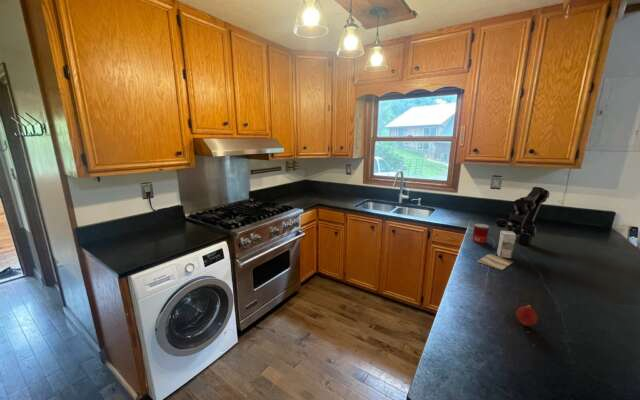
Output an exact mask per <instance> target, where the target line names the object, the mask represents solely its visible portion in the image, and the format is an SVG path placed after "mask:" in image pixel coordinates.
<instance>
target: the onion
mask: <svg viewBox="0 0 640 400" xmlns="http://www.w3.org/2000/svg"><path fill="white" fill-rule="evenodd" d="M515 312H516V318H517V320H518V321H519V322H520V323H521V324H522V325H523V326H524V327H527V326H533V325H535V324H536V323H537V321H538V315H537V312H536V310H534V309H533V308H532V307H531V305H530V304H528V305H524V306H520V307H519V308H518V309H517V310H516V311H515Z"/></svg>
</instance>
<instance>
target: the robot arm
mask: <svg viewBox="0 0 640 400" xmlns="http://www.w3.org/2000/svg"><path fill="white" fill-rule="evenodd" d="M550 195H551V193H550V192H549V190H547V189H545V188H544V187H541V186H533V187H532V189H531V191H530V192H529V193H528V194H527V195H526V196H523V197H519V198H517V199H515V200H514V201H513V205H514V210H515V213H510V214H509V218H508V220H509V221H508V222H506V219H503V218H497V219H496V220H495V223H496V226H497V227H499V228H501V229H504V228H506V229H507V230H506V231H511V232H514V233H515V235H516V240H515V242H516V243H517V244H520V245H521V246H533V244H532V243H531V242H532V239H533V238H535V237H536V233H537V227H536V225H535V224H534V221H535V219H536V217H537V215H538V212H539V210H540V207H541V205H542V204H544V203H545V202H547V200H548V199H549V198H550Z"/></svg>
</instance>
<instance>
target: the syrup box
mask: <svg viewBox="0 0 640 400" xmlns="http://www.w3.org/2000/svg"><path fill="white" fill-rule="evenodd" d="M516 239H517V235H515V233H514V232H511V231H509V230H500V234H499V239H498V242H497V243H498V244H497V249H496V254H497V257H501V258H504V259H509V260H510V259H512V256H513V251H514V248H515V247H514V246H515V242H516Z"/></svg>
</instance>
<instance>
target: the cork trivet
mask: <svg viewBox="0 0 640 400" xmlns="http://www.w3.org/2000/svg"><path fill="white" fill-rule="evenodd" d="M476 262H477V263H480V264H481V263H482V265H484V264H485V266H487V265H488V266H487V267H490V268H493V267H494V268H493V269H495V270H499V271H501V270H502V271H503V270H505V269H507V267H509V266H510V265H511V264H513V263H514V261H512V260H510V259H508V258H502V257H499V256H498V255H495V254H491V253H488V254H486V255H484V256H483V257H481V258H479V259H478V260H476Z"/></svg>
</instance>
